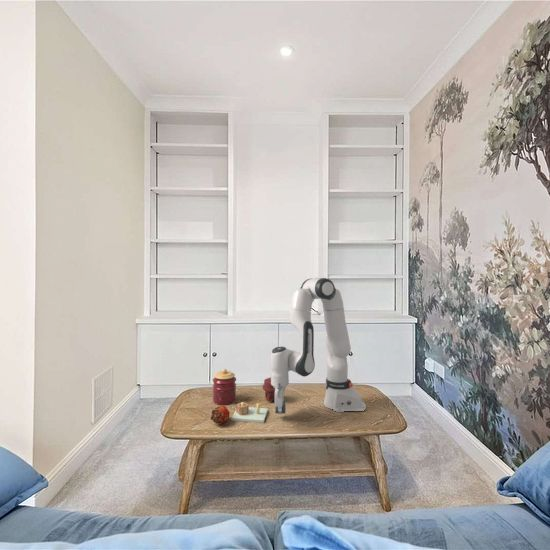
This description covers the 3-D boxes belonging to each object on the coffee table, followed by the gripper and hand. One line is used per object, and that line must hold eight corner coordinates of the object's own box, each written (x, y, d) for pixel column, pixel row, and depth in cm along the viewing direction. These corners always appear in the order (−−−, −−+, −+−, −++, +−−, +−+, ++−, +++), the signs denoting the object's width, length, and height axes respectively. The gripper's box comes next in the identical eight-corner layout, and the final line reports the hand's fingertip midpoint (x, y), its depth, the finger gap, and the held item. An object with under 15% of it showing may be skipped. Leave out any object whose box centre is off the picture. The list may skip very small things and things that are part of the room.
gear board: (267, 410, 169) (267, 399, 169) (263, 422, 156) (263, 410, 156) (237, 408, 171) (237, 396, 171) (231, 420, 159) (231, 407, 158)
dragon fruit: (216, 432, 150) (220, 423, 162) (231, 421, 151) (234, 412, 163) (206, 416, 151) (210, 409, 163) (221, 405, 152) (224, 398, 164)
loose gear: (285, 409, 163) (285, 400, 163) (285, 413, 158) (285, 404, 158) (275, 408, 164) (275, 400, 164) (274, 413, 159) (274, 404, 159)
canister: (208, 403, 178) (208, 371, 177) (219, 394, 190) (219, 364, 189) (229, 406, 174) (229, 374, 173) (239, 397, 186) (240, 366, 185)
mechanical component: (280, 396, 187) (280, 404, 177) (263, 396, 187) (262, 403, 177) (280, 375, 187) (280, 382, 177) (263, 375, 187) (262, 381, 177)
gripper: (284, 388, 150) (285, 418, 151) (287, 373, 170) (287, 399, 171) (271, 388, 151) (272, 417, 151) (275, 373, 171) (275, 399, 171)
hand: (280, 407), depth 161 cm, fingers closed on loose gear, 5 cm apart
